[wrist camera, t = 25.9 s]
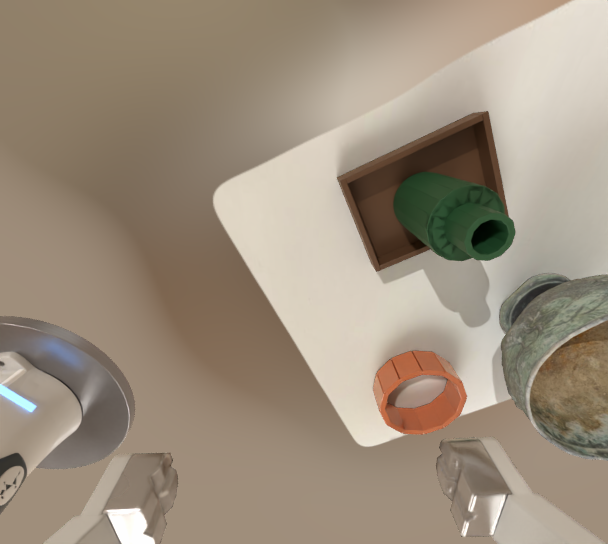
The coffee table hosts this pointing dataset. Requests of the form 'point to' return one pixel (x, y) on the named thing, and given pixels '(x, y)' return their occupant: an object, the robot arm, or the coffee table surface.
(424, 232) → the bottle
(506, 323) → the bowl
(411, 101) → the coffee table surface
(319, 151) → the coffee table surface
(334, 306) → the coffee table surface
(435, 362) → the orange ring
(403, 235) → the tray
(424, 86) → the coffee table surface
